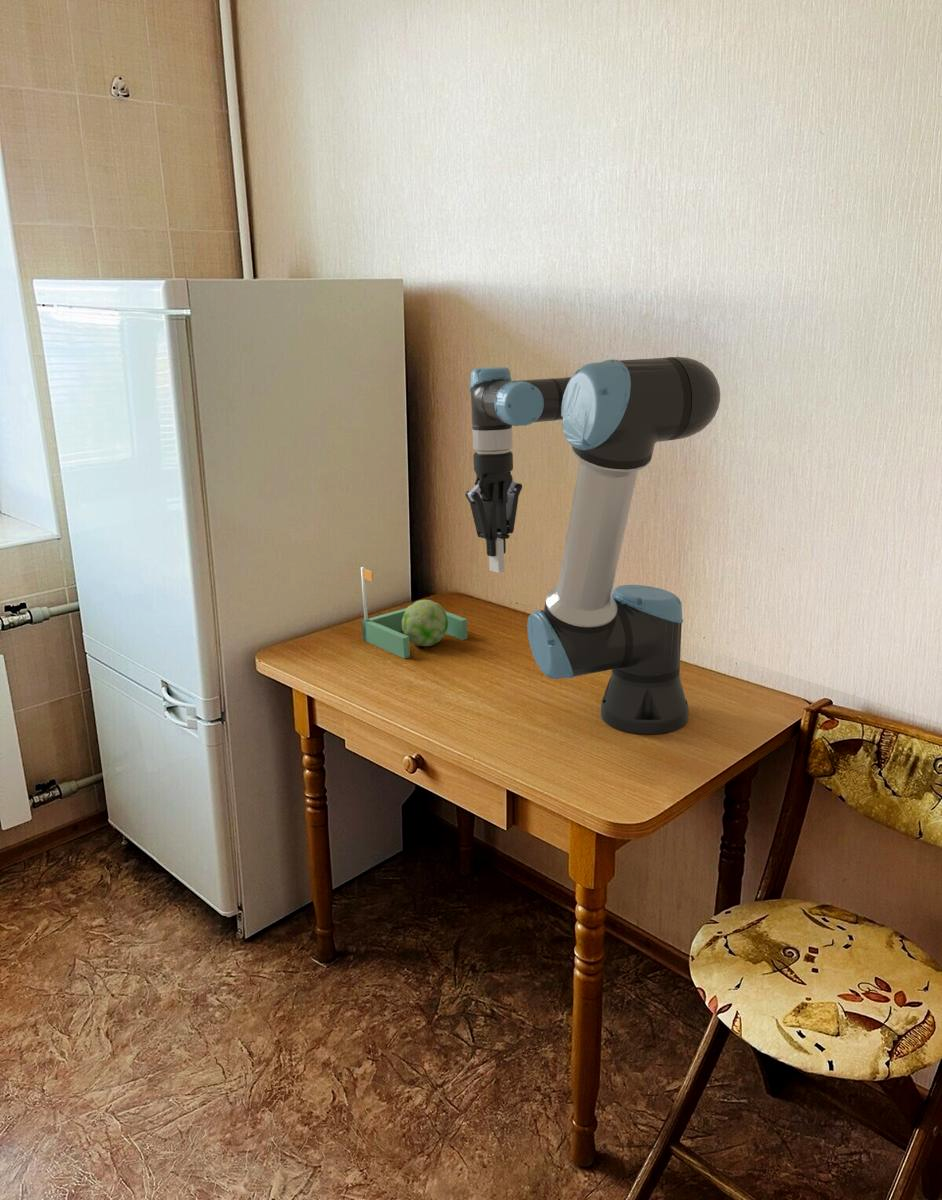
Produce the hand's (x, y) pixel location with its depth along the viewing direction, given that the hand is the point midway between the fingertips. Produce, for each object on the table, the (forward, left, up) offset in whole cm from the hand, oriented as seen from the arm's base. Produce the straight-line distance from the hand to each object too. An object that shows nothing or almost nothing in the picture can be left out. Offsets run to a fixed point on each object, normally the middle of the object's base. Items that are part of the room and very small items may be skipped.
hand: (496, 570), depth 188 cm
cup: (+22, +4, -19) cm, 30 cm away
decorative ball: (+19, +4, -20) cm, 28 cm away
